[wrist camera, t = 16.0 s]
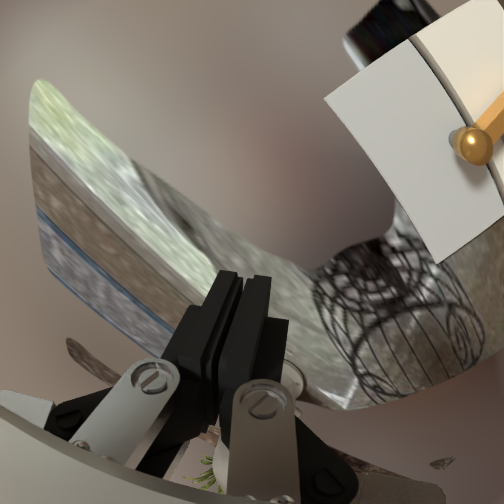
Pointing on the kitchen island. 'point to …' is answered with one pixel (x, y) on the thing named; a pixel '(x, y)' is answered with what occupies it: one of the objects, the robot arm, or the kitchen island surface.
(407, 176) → the door mock-up
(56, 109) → the kitchen island surface
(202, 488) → the house plant
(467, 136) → the latch bar
